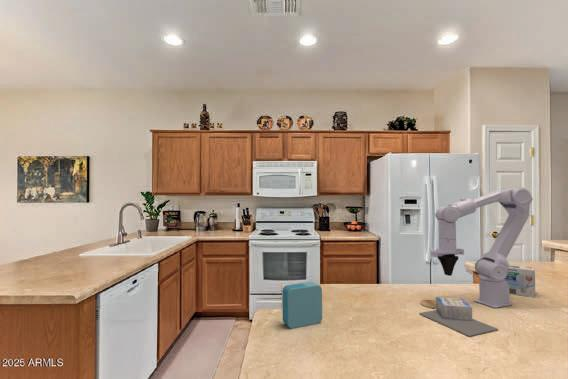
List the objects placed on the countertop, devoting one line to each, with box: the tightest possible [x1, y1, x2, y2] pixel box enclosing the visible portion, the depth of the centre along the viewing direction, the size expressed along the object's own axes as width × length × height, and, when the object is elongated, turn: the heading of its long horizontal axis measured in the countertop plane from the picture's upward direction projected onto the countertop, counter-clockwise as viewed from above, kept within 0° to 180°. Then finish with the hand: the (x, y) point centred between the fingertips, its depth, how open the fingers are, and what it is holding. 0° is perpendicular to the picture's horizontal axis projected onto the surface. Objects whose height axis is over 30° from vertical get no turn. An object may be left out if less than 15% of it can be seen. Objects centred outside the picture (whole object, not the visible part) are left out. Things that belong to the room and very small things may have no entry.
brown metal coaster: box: [420, 299, 437, 310], centre depth 108 cm, size 8×8×1 cm
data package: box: [281, 281, 323, 329], centre depth 93 cm, size 12×4×12 cm, turn 114°
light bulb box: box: [504, 264, 536, 299], centre depth 121 cm, size 11×7×11 cm, turn 49°
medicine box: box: [435, 296, 473, 320], centre depth 98 cm, size 8×4×9 cm
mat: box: [418, 309, 499, 338], centre depth 93 cm, size 12×18×1 cm, turn 21°
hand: (448, 275), depth 110 cm, fingers closed
